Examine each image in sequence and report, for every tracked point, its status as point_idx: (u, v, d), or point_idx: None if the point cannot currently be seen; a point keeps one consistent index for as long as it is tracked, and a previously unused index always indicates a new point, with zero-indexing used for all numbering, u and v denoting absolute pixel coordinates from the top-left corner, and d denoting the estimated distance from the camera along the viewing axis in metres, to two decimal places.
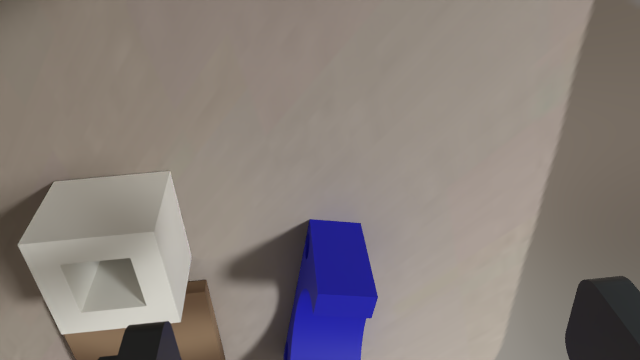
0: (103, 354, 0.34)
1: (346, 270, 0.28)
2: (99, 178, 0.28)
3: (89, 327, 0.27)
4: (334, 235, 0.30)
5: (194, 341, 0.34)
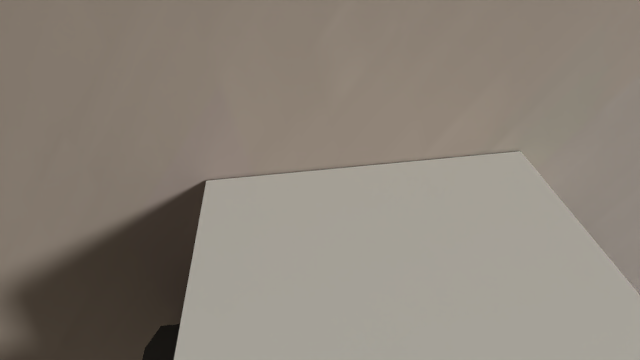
0: None
1: None
2: (331, 171, 0.10)
3: None
4: None
5: None
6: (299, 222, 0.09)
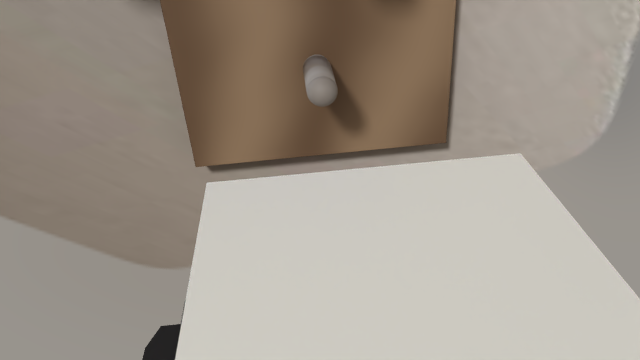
0: (289, 123, 0.25)
1: None
2: (332, 173, 0.10)
3: None
4: None
5: None
6: (299, 224, 0.09)
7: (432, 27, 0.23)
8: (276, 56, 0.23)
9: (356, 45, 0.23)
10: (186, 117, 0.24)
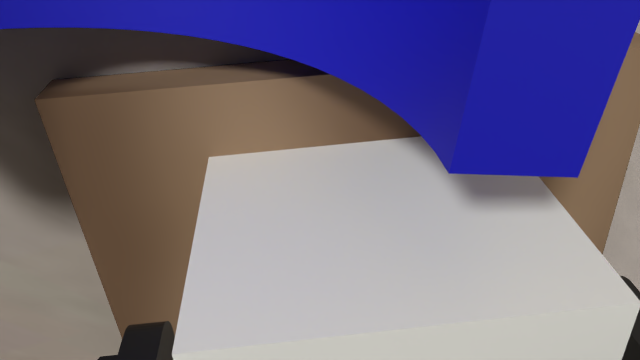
0: None
1: None
2: (324, 147, 0.11)
3: None
4: None
5: (269, 146, 0.11)
6: (294, 191, 0.10)
7: (580, 193, 0.12)
8: None
9: None
10: None
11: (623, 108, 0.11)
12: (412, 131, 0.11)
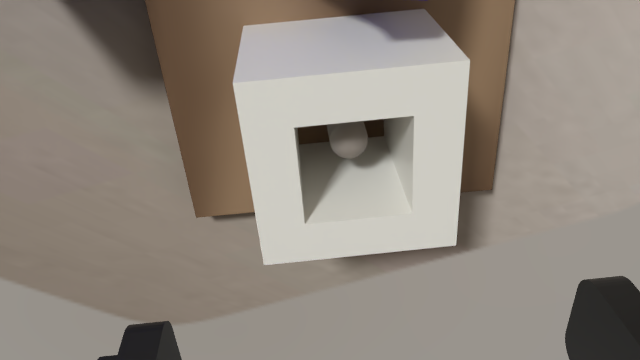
0: None
1: None
2: (314, 19, 0.18)
3: (311, 252, 0.17)
4: None
5: (280, 18, 0.18)
6: (295, 35, 0.16)
7: (481, 56, 0.19)
8: None
9: None
10: (184, 162, 0.20)
11: None
12: (369, 9, 0.18)
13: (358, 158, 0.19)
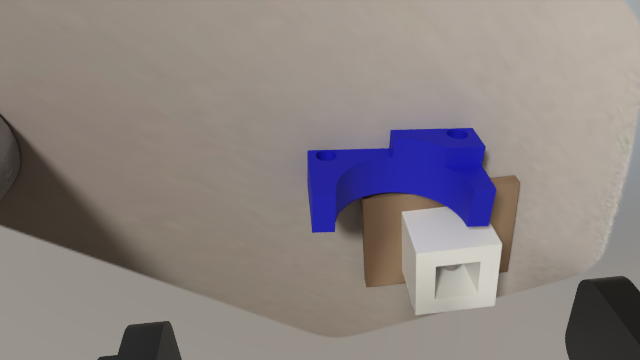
0: None
1: None
2: (432, 208, 0.41)
3: (435, 310, 0.40)
4: (308, 179, 0.39)
5: (417, 208, 0.41)
6: (428, 221, 0.40)
7: (503, 219, 0.43)
8: None
9: None
10: (366, 264, 0.44)
11: (512, 197, 0.41)
12: None
13: None
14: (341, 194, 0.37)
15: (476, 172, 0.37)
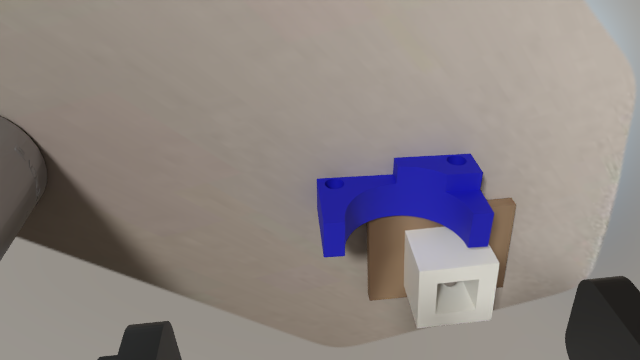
0: None
1: (321, 224, 0.39)
2: (433, 228, 0.44)
3: (435, 323, 0.43)
4: (318, 206, 0.42)
5: (420, 227, 0.44)
6: (430, 240, 0.43)
7: (499, 238, 0.45)
8: None
9: None
10: (370, 278, 0.46)
11: (508, 218, 0.44)
12: None
13: None
14: (349, 220, 0.40)
15: (475, 196, 0.39)
